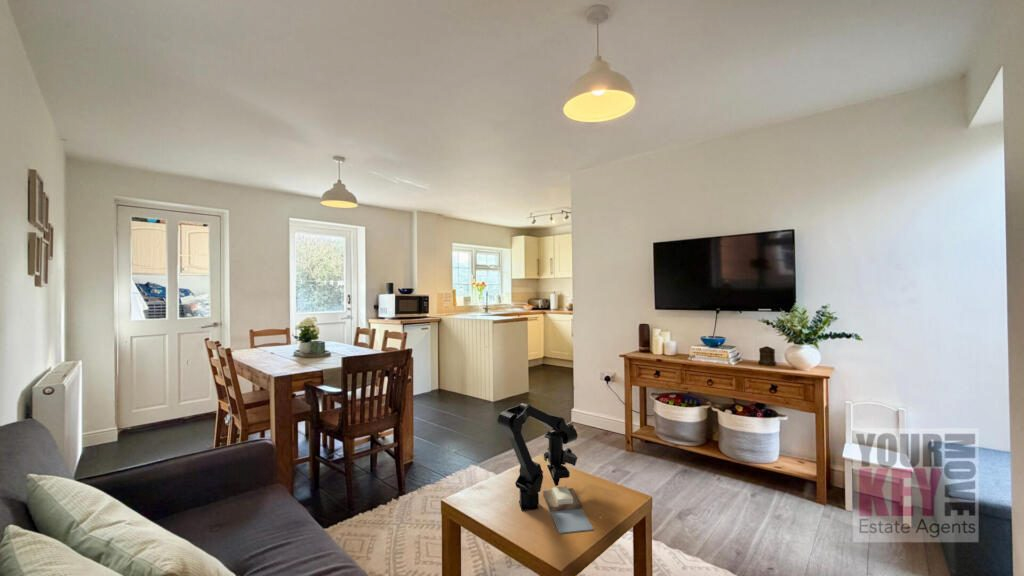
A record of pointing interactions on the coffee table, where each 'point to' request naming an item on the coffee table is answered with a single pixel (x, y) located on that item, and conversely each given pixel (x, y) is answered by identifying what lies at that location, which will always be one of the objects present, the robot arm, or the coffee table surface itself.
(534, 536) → the coffee table surface
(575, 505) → the plate
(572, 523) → the mat
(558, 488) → the tile
